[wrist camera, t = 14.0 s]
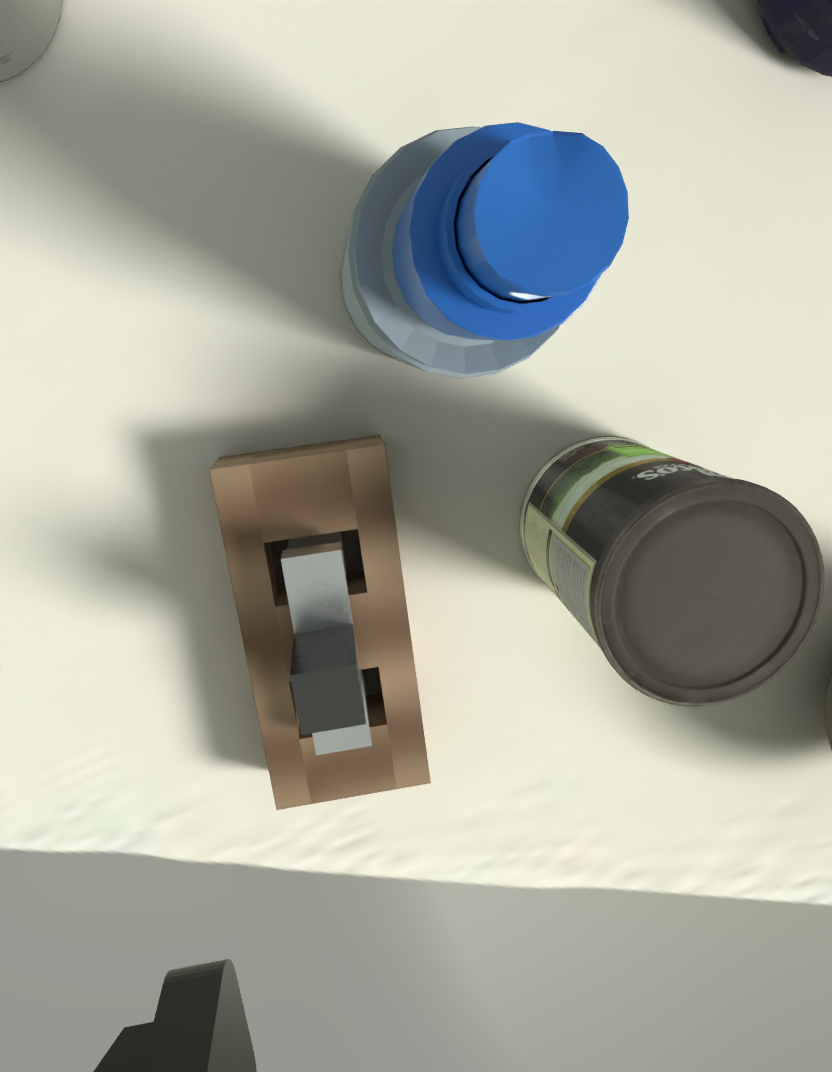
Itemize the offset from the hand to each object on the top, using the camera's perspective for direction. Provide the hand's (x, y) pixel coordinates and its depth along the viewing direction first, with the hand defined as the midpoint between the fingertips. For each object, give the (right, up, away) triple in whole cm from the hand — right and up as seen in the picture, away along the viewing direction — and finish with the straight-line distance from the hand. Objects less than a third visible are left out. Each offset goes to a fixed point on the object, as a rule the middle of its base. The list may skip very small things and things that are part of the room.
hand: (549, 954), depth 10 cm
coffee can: (+9, +6, +37) cm, 39 cm away
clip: (-7, +1, +37) cm, 37 cm away
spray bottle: (-1, +19, +33) cm, 38 cm away
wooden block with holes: (-7, +1, +37) cm, 37 cm away
